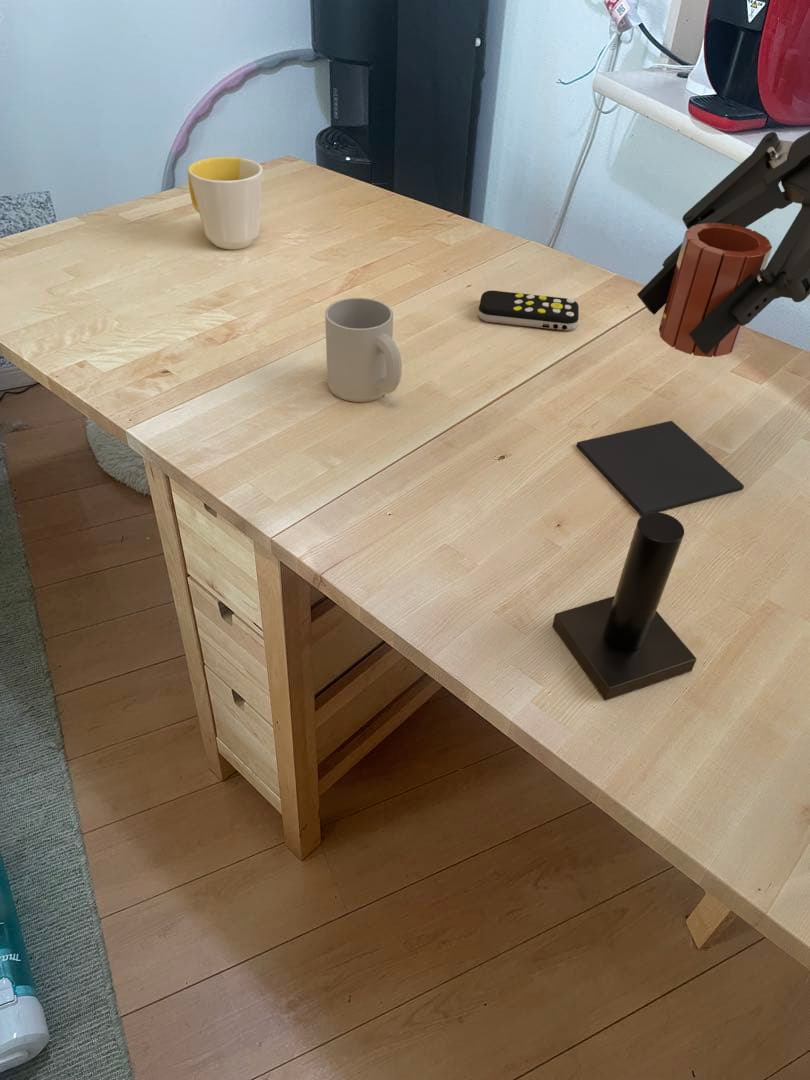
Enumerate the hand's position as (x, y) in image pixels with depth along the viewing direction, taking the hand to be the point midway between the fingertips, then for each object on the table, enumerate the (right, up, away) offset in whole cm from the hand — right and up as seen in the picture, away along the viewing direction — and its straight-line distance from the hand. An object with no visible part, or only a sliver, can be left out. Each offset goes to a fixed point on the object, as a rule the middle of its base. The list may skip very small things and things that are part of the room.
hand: (670, 323), depth 71 cm
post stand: (-6, -27, -6) cm, 29 cm away
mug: (-49, +26, +50) cm, 75 cm away
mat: (+3, -11, +12) cm, 17 cm away
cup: (-27, -2, +21) cm, 34 cm away
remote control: (-7, +10, +35) cm, 37 cm away
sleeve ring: (+3, -1, +2) cm, 4 cm away
